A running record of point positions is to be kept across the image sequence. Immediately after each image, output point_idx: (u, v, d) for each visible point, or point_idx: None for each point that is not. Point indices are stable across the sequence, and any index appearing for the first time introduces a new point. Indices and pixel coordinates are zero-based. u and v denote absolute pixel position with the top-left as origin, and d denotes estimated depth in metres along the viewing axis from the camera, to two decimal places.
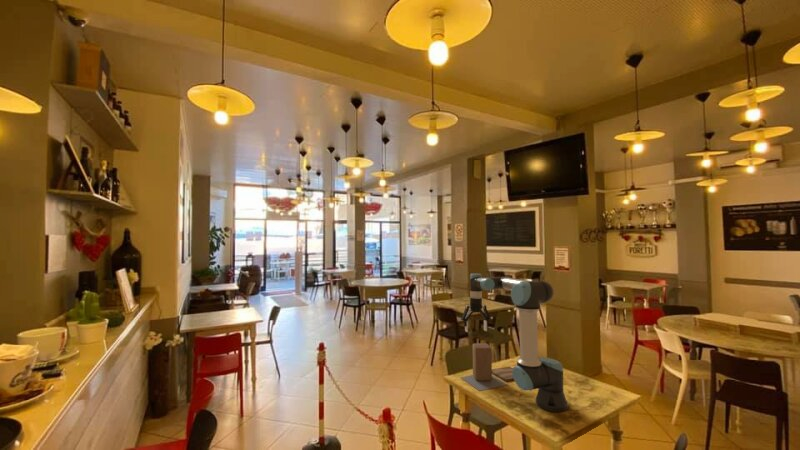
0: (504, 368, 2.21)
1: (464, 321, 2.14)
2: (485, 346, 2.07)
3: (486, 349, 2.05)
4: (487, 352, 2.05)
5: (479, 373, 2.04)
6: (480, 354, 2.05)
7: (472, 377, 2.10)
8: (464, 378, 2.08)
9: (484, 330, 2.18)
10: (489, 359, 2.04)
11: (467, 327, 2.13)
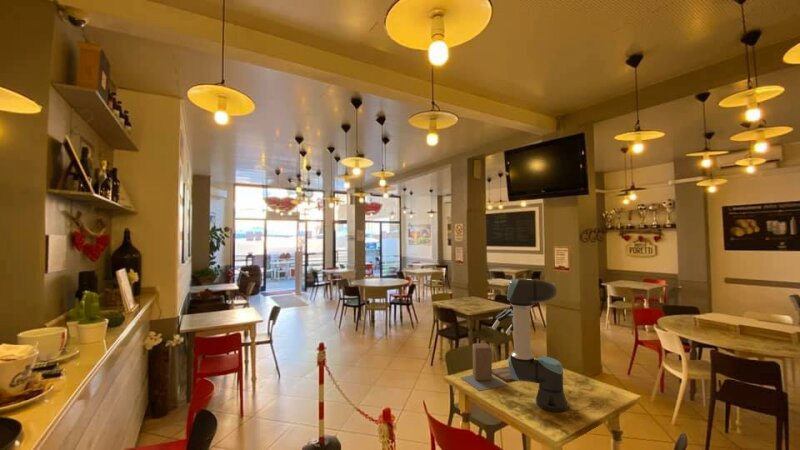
0: (504, 368, 2.21)
1: (496, 320, 2.25)
2: (485, 346, 2.07)
3: (486, 349, 2.05)
4: (487, 352, 2.05)
5: (479, 373, 2.04)
6: (480, 354, 2.05)
7: (472, 377, 2.10)
8: (464, 378, 2.08)
9: (507, 334, 2.10)
10: (489, 359, 2.04)
11: (494, 324, 2.22)
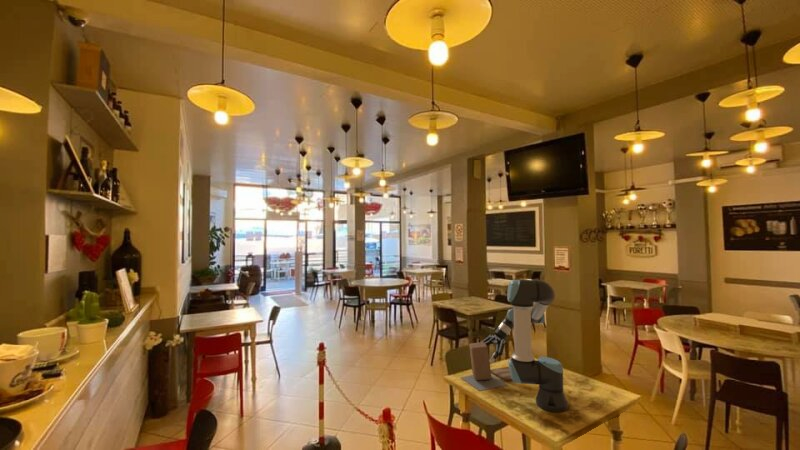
0: (504, 368, 2.21)
1: None
2: (481, 345, 2.07)
3: (482, 348, 2.05)
4: (484, 351, 2.05)
5: (478, 373, 2.04)
6: (477, 353, 2.05)
7: (472, 377, 2.10)
8: (464, 378, 2.08)
9: (490, 362, 2.05)
10: (487, 358, 2.04)
11: None
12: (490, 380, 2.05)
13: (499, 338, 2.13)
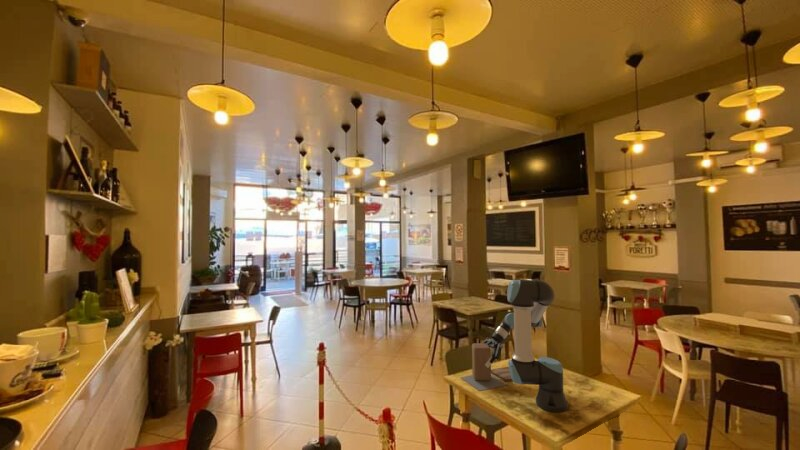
0: (504, 368, 2.21)
1: None
2: (484, 346, 2.07)
3: (485, 349, 2.05)
4: (486, 352, 2.05)
5: (478, 373, 2.04)
6: (479, 354, 2.05)
7: (472, 377, 2.10)
8: (464, 378, 2.08)
9: (486, 366, 2.03)
10: (488, 359, 2.04)
11: None
12: (490, 380, 2.05)
13: (496, 342, 2.11)
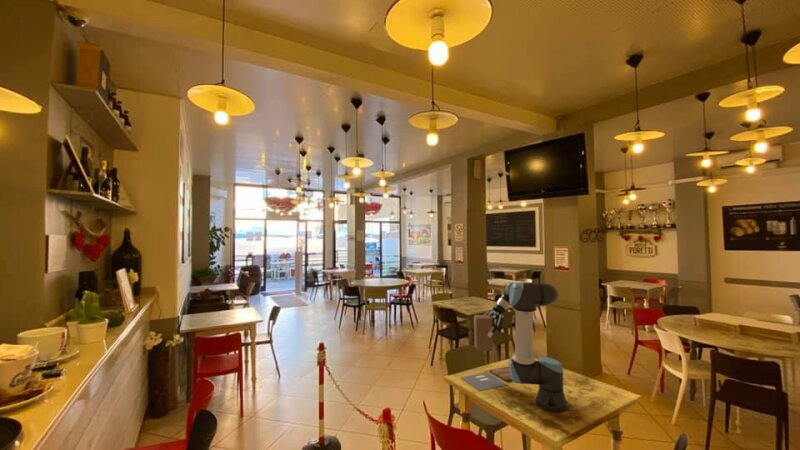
0: (504, 368, 2.21)
1: None
2: (486, 317, 2.08)
3: (487, 319, 2.06)
4: (488, 322, 2.06)
5: (480, 343, 2.05)
6: (481, 324, 2.06)
7: (472, 377, 2.10)
8: (464, 378, 2.08)
9: (488, 336, 2.05)
10: None
11: None
12: (490, 380, 2.05)
13: (498, 313, 2.12)
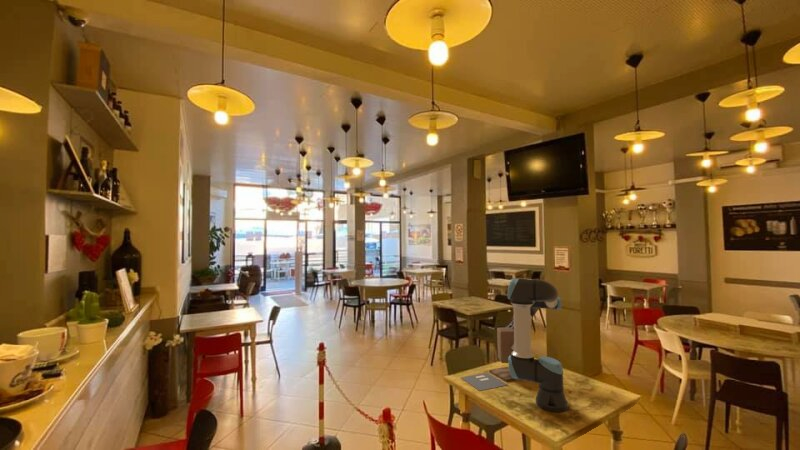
0: (504, 368, 2.21)
1: None
2: (509, 330, 2.13)
3: (511, 332, 2.11)
4: (512, 335, 2.10)
5: (504, 356, 2.10)
6: (505, 337, 2.11)
7: (472, 377, 2.10)
8: (464, 378, 2.08)
9: None
10: None
11: None
12: (490, 380, 2.05)
13: None
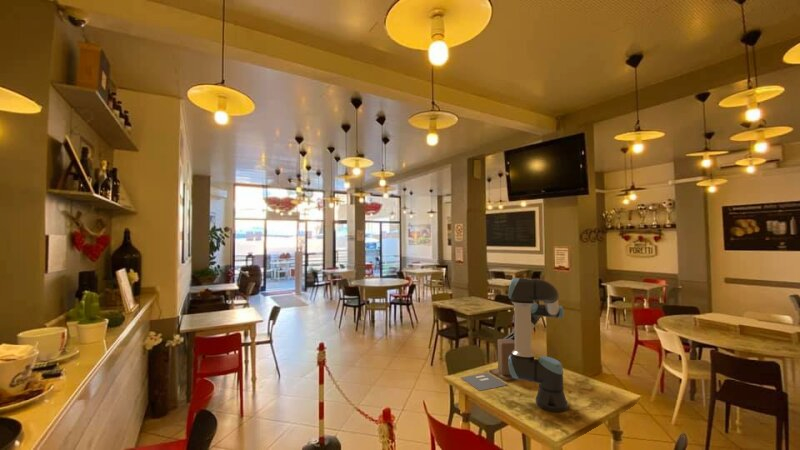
0: None
1: None
2: (510, 342, 2.12)
3: (512, 344, 2.10)
4: (514, 347, 2.10)
5: (505, 368, 2.09)
6: (507, 349, 2.09)
7: (472, 377, 2.10)
8: (464, 378, 2.08)
9: None
10: None
11: None
12: (490, 380, 2.05)
13: None
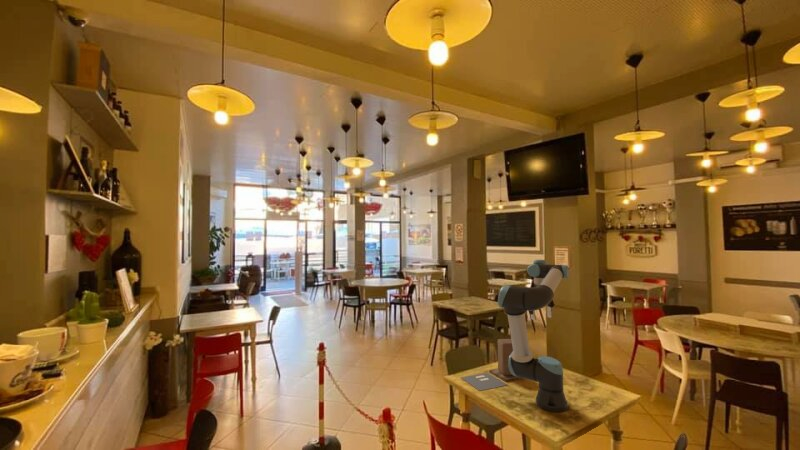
0: None
1: None
2: (511, 341, 2.12)
3: None
4: None
5: (506, 368, 2.09)
6: (507, 349, 2.09)
7: (472, 377, 2.10)
8: (464, 378, 2.08)
9: None
10: None
11: (534, 315, 2.07)
12: (490, 380, 2.05)
13: None
